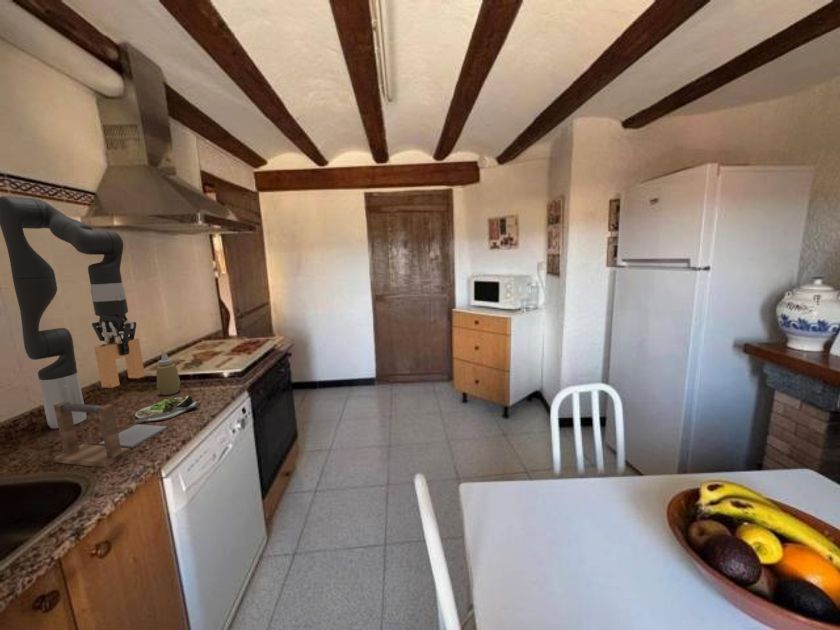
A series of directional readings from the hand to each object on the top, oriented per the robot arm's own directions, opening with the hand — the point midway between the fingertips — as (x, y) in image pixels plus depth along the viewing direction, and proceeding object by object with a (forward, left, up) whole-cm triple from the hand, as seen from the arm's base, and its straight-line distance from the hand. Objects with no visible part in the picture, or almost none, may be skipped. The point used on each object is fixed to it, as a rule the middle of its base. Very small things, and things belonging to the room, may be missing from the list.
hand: (119, 354), depth 106 cm
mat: (0, 0, -27) cm, 27 cm away
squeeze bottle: (-20, +33, -27) cm, 47 cm away
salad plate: (-5, +18, -28) cm, 33 cm away
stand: (0, -12, -27) cm, 30 cm away
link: (0, 0, -9) cm, 9 cm away
